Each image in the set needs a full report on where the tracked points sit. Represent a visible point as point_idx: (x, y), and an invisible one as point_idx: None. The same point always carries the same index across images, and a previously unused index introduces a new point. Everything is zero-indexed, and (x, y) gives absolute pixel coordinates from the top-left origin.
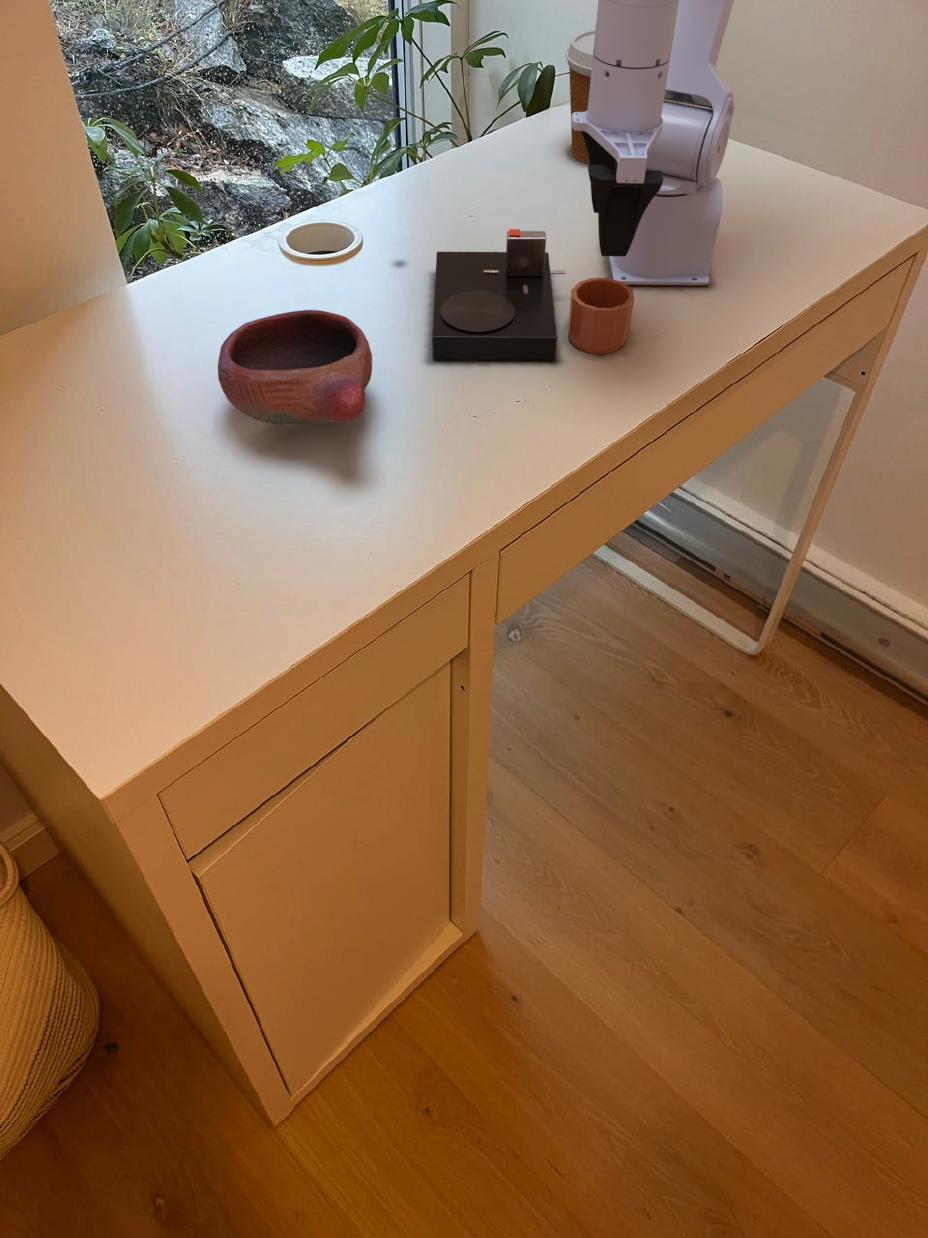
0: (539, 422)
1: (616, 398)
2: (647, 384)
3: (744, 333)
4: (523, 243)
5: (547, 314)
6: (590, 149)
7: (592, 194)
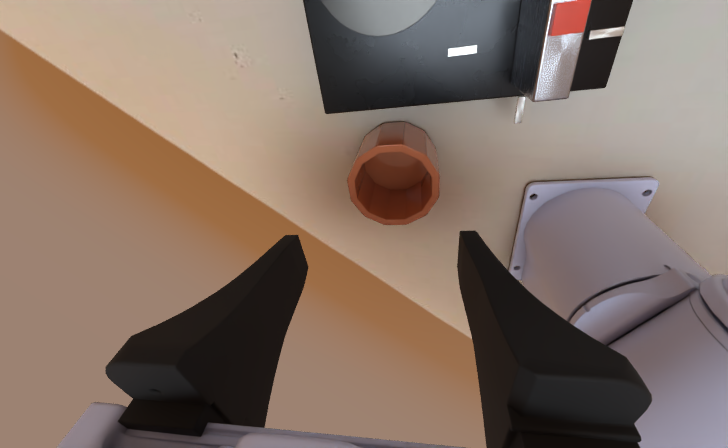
0: (208, 89)
1: (282, 175)
2: (314, 205)
3: (415, 288)
4: (538, 44)
5: (384, 97)
6: (497, 331)
7: (466, 250)
